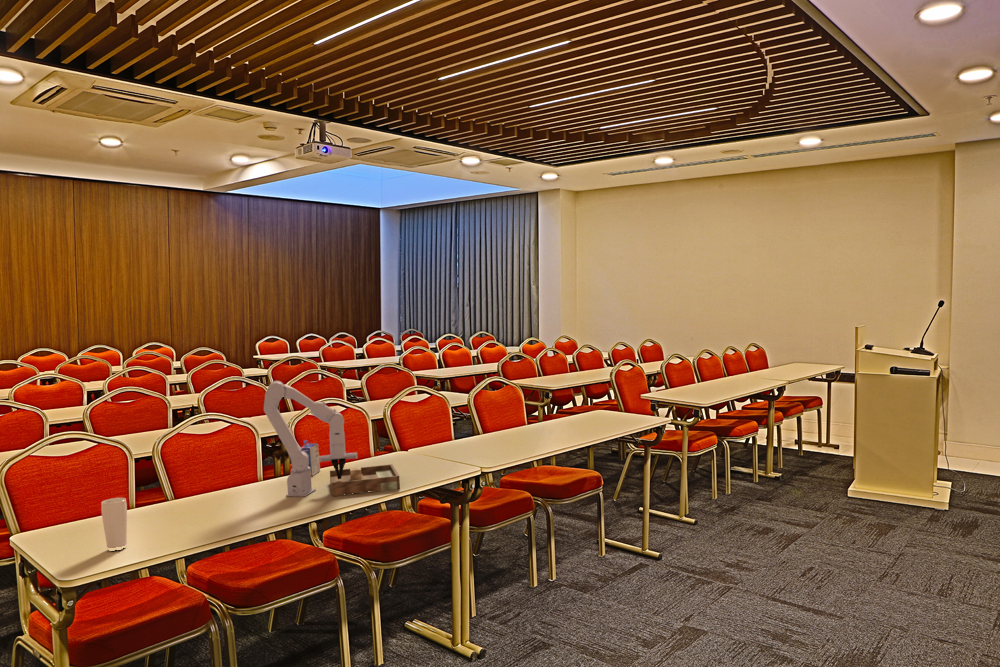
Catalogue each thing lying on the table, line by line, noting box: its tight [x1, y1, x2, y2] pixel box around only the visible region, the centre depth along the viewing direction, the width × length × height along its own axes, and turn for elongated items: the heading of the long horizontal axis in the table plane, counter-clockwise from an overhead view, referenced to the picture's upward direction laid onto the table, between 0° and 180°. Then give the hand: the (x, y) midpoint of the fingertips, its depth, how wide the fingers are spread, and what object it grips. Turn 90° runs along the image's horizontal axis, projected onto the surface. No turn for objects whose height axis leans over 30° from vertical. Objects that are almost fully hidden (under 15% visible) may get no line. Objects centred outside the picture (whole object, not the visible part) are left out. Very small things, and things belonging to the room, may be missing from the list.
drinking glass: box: [100, 497, 128, 548], centre depth 219 cm, size 7×7×15 cm
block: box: [349, 467, 362, 481], centre depth 282 cm, size 4×4×4 cm
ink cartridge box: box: [300, 439, 321, 477], centre depth 308 cm, size 10×6×14 cm, turn 174°
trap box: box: [329, 463, 401, 497], centre depth 283 cm, size 25×22×5 cm
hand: (339, 478), depth 280 cm, fingers closed
